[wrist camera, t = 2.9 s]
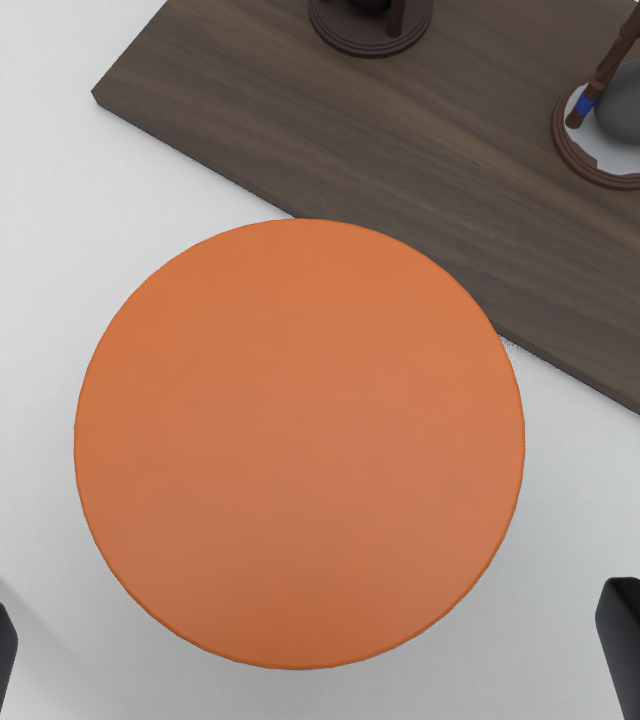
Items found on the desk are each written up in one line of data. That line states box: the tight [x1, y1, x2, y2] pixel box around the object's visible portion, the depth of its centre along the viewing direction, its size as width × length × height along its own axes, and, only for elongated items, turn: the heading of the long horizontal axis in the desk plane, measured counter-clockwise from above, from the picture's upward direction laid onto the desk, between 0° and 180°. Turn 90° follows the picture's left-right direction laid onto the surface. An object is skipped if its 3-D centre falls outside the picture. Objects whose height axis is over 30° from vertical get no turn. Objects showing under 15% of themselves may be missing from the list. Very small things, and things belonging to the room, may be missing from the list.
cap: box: [74, 218, 525, 670], centre depth 11 cm, size 6×6×5 cm
